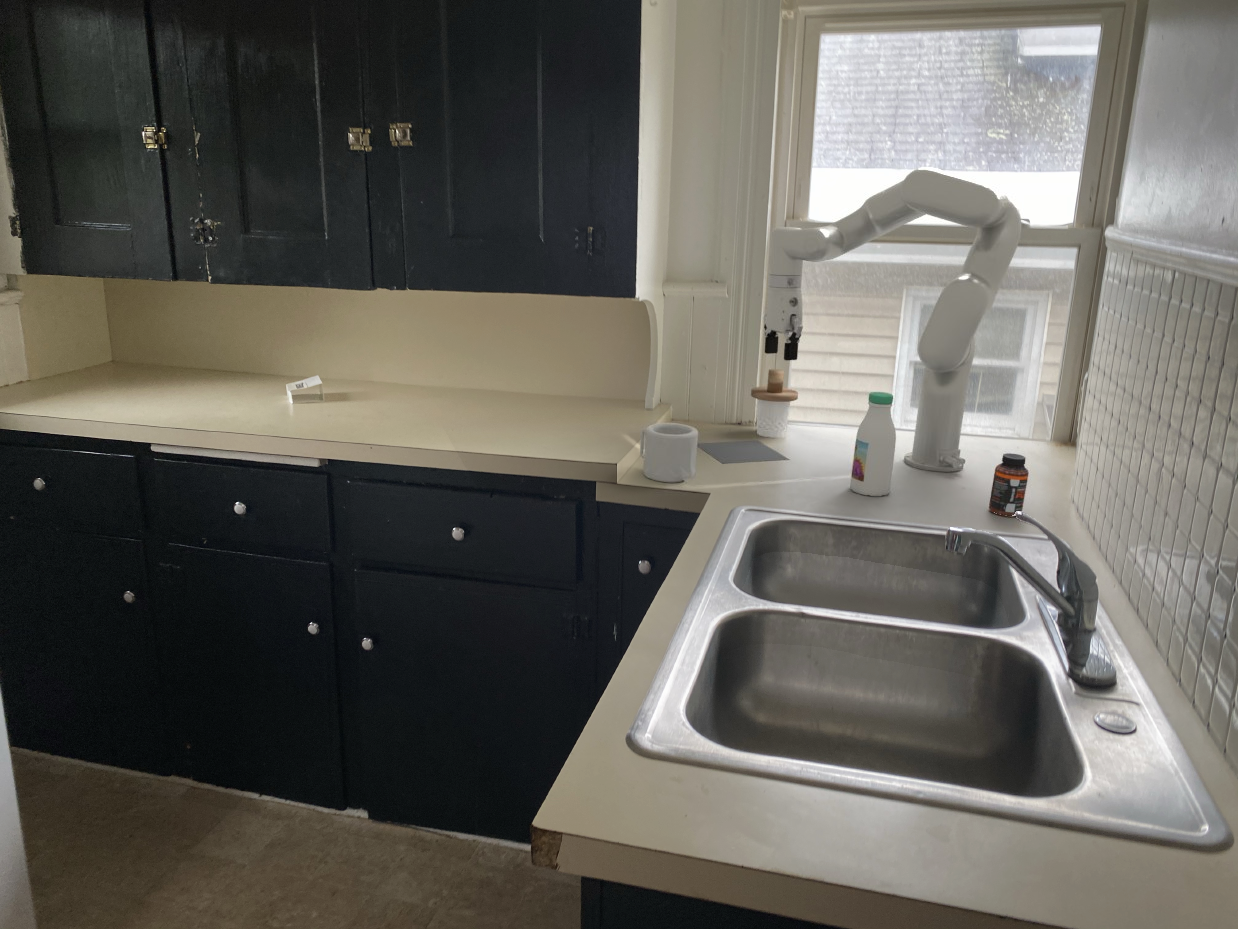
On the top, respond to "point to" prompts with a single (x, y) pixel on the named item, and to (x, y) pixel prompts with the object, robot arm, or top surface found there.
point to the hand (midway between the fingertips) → (780, 356)
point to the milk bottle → (874, 448)
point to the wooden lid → (774, 389)
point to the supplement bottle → (1009, 485)
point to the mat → (741, 452)
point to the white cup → (772, 418)
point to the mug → (669, 452)
